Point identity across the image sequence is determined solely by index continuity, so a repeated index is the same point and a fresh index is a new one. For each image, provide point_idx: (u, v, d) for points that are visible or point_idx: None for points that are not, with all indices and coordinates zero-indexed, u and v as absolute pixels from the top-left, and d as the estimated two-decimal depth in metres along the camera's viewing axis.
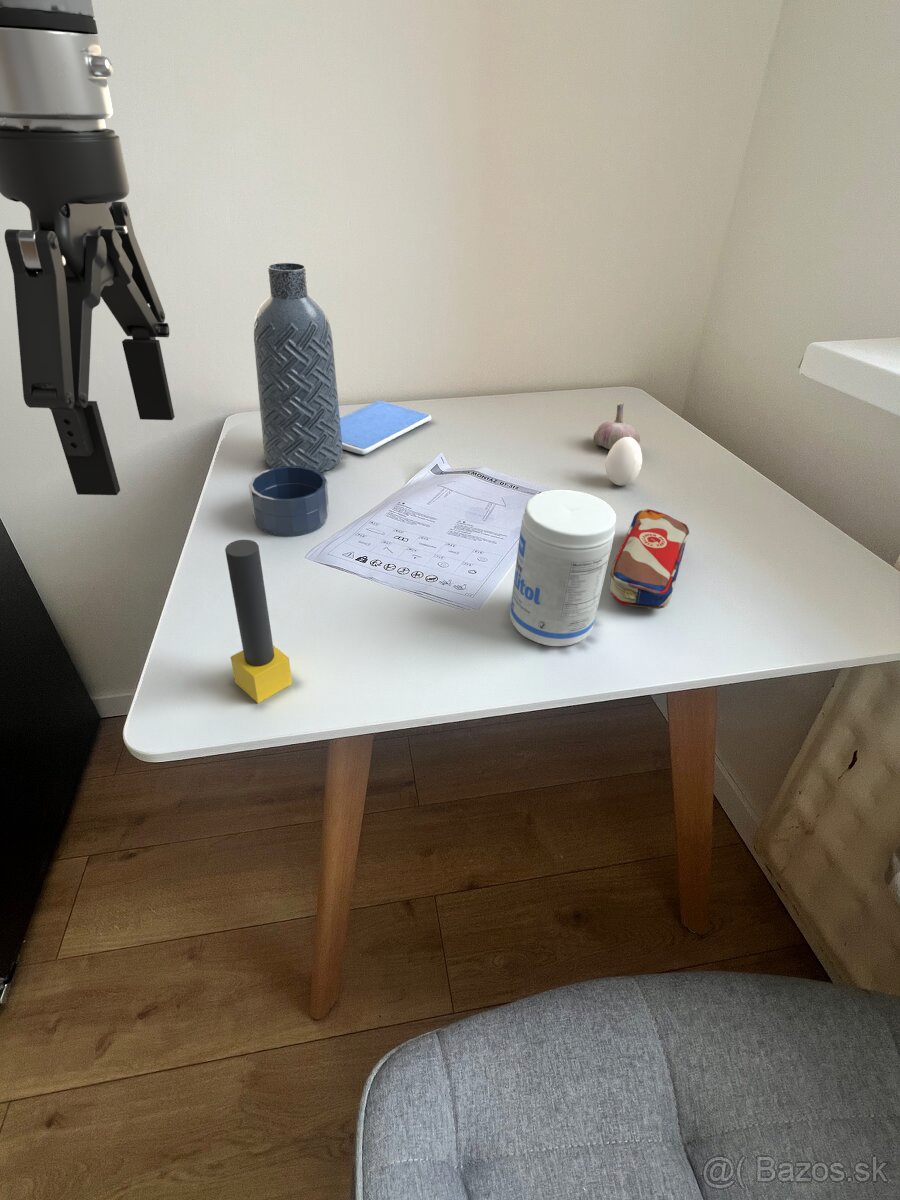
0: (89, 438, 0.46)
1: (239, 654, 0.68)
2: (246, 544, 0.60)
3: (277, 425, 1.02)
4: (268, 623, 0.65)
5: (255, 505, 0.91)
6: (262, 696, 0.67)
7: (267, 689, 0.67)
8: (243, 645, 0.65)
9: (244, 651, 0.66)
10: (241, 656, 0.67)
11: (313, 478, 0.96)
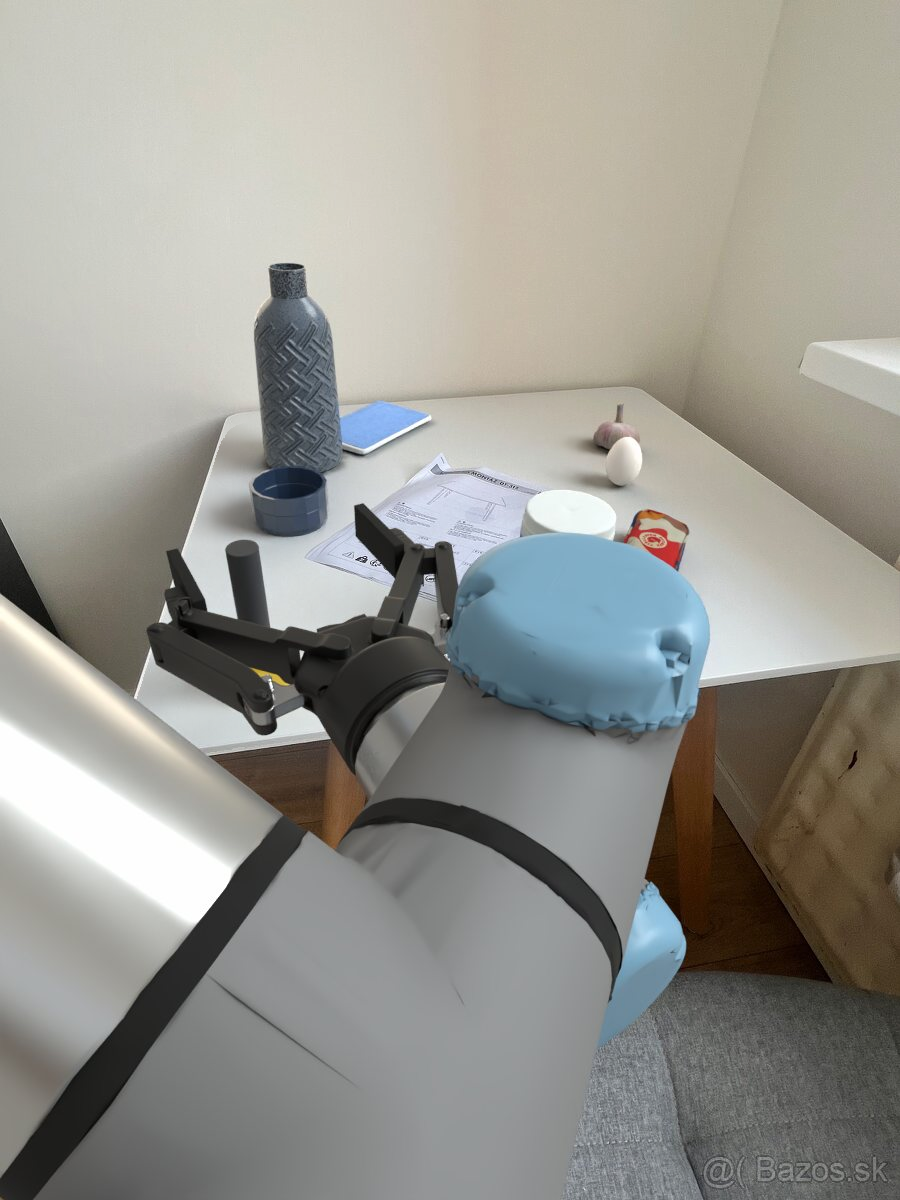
0: None
1: None
2: (246, 544, 0.60)
3: (277, 425, 1.02)
4: (268, 623, 0.65)
5: (255, 505, 0.91)
6: None
7: None
8: None
9: None
10: None
11: (313, 478, 0.96)
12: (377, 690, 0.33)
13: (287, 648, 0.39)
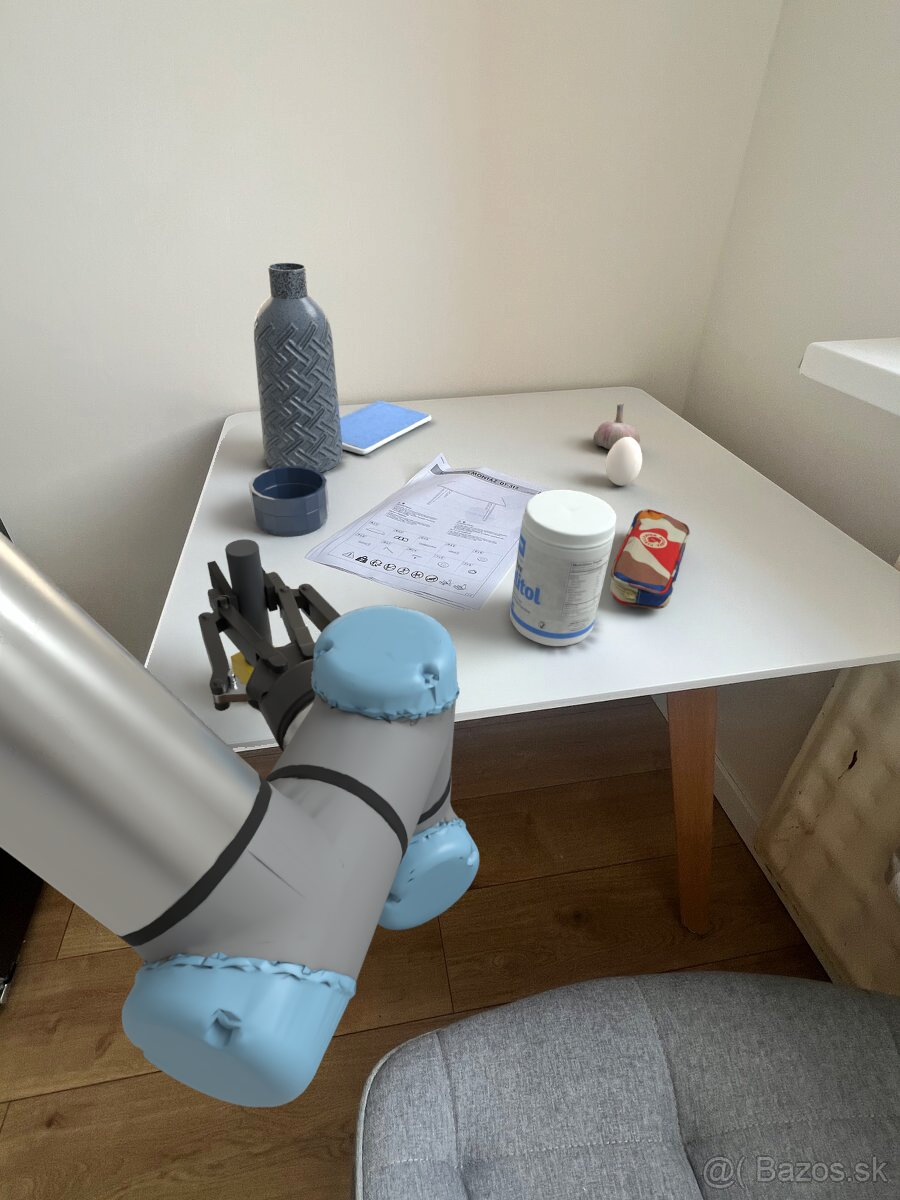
0: None
1: (239, 654, 0.68)
2: (246, 544, 0.60)
3: (277, 425, 1.02)
4: (268, 623, 0.65)
5: (255, 505, 0.91)
6: None
7: None
8: None
9: None
10: (241, 656, 0.67)
11: (313, 478, 0.96)
12: (298, 695, 0.49)
13: (255, 652, 0.56)
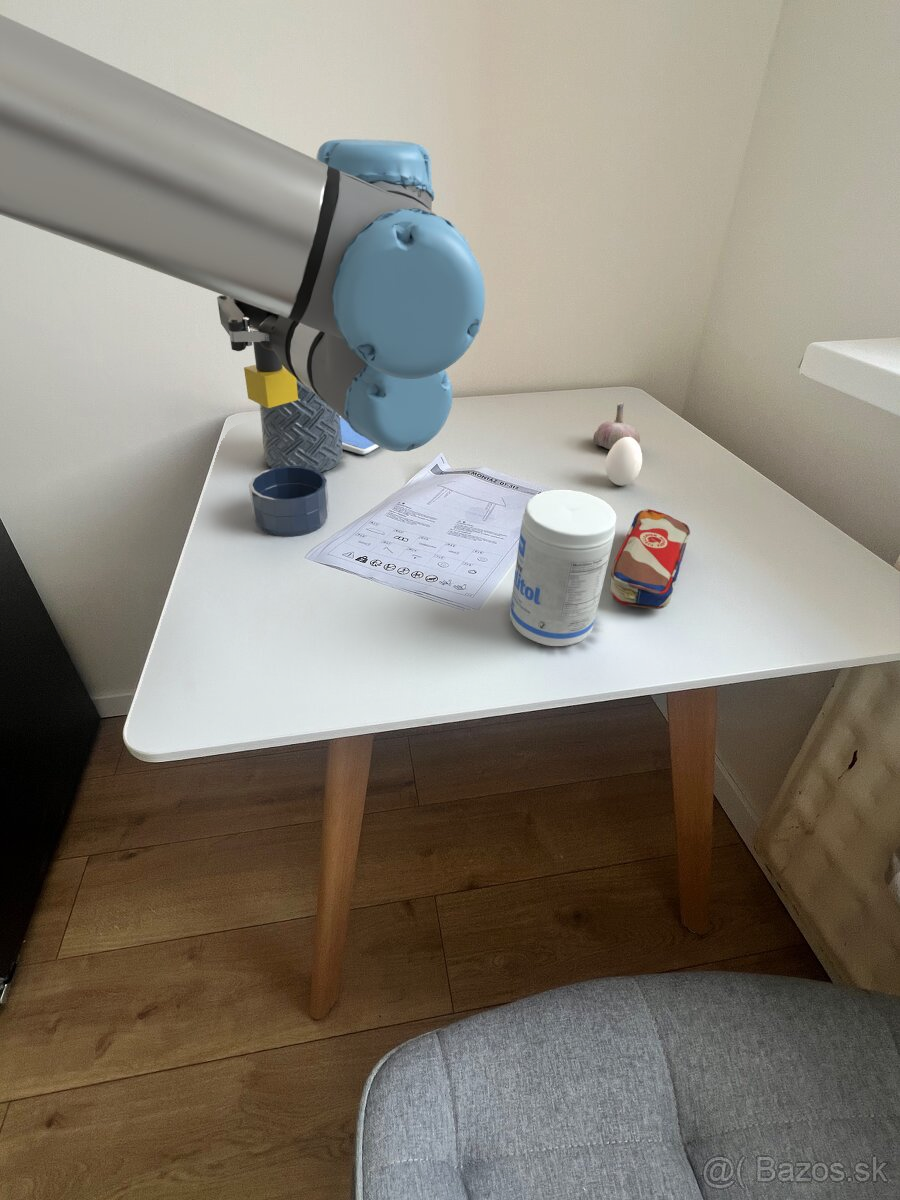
0: None
1: (251, 366, 0.77)
2: None
3: (277, 425, 1.02)
4: None
5: (255, 505, 0.91)
6: (272, 402, 0.76)
7: (276, 396, 0.76)
8: (255, 349, 0.74)
9: (256, 357, 0.75)
10: (253, 367, 0.76)
11: (313, 478, 0.96)
12: None
13: (266, 311, 0.65)
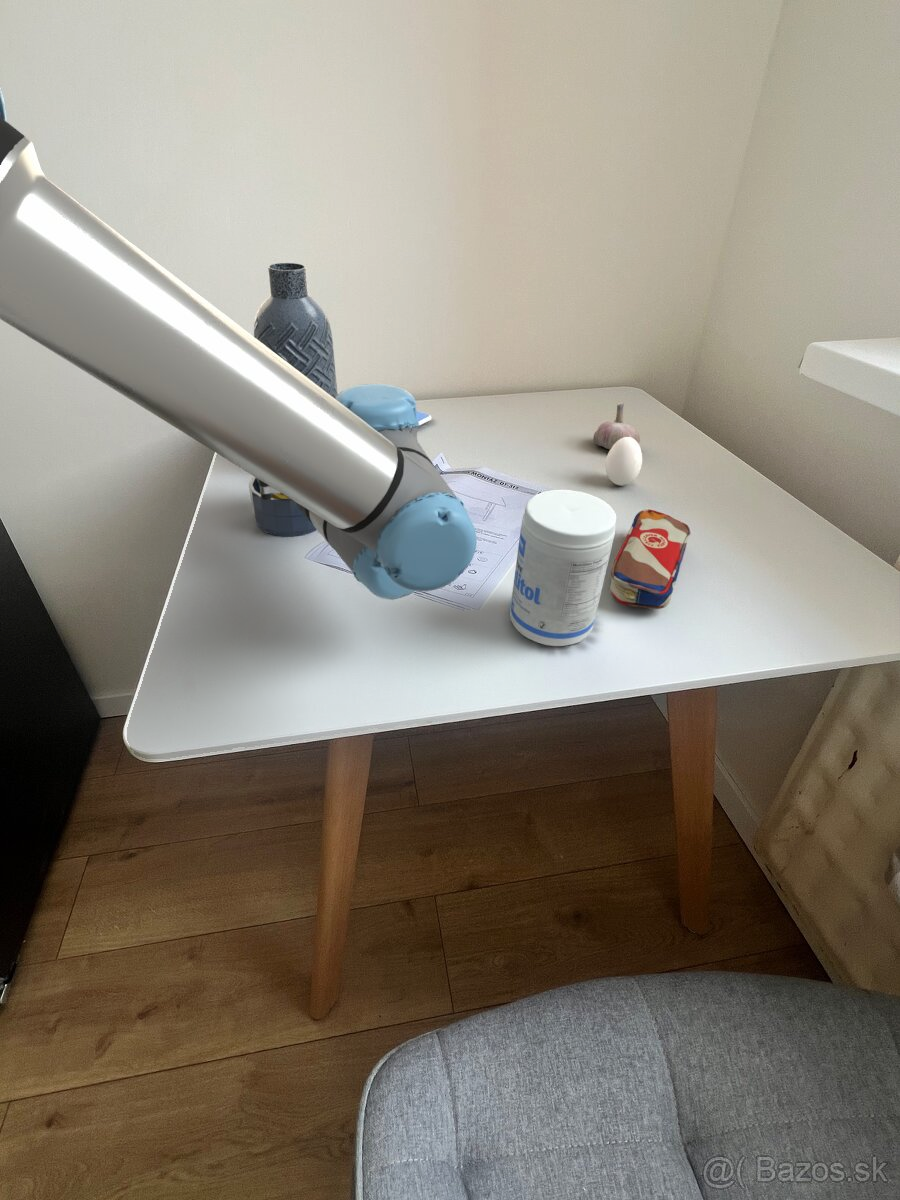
0: None
1: None
2: None
3: None
4: None
5: (255, 505, 0.91)
6: None
7: None
8: None
9: None
10: None
11: None
12: None
13: None
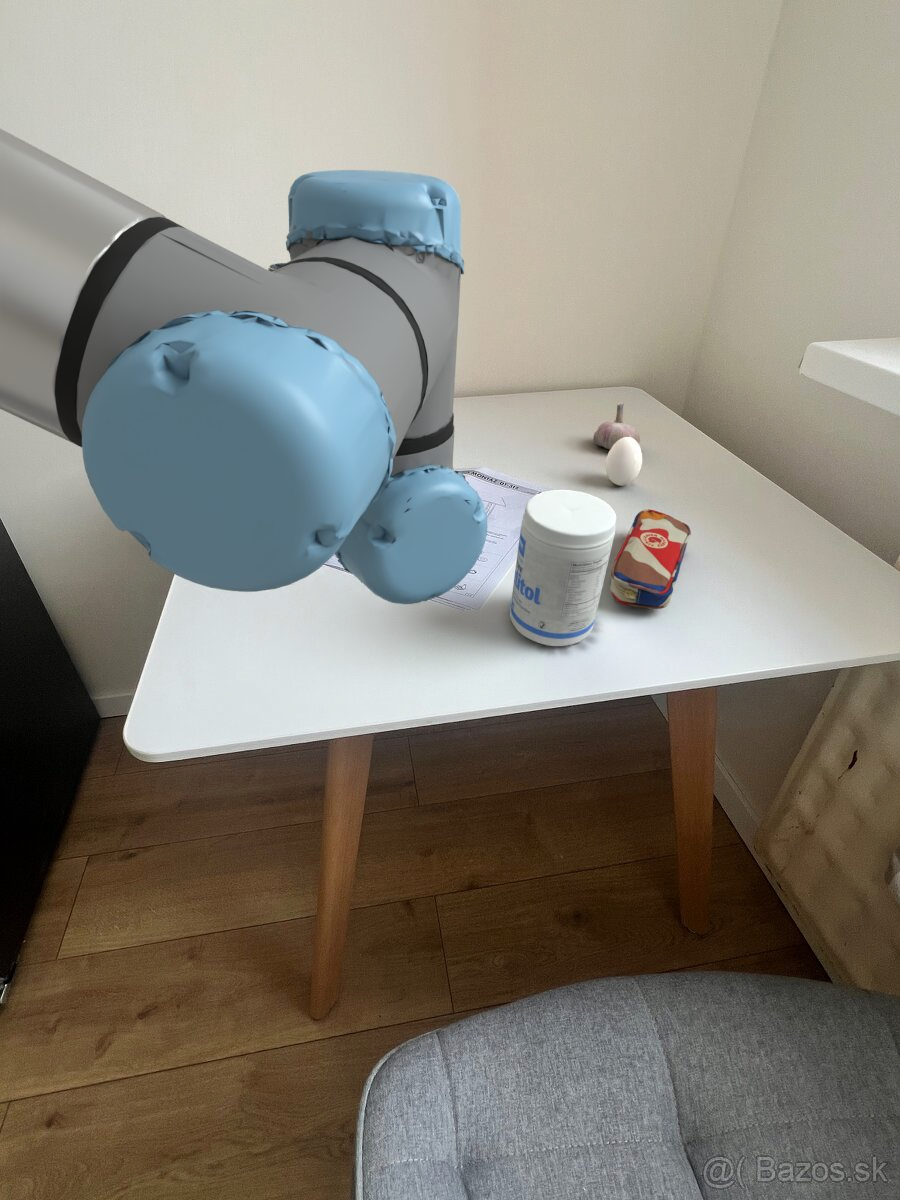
0: None
1: None
2: None
3: None
4: None
5: None
6: None
7: None
8: None
9: None
10: None
11: None
12: None
13: None
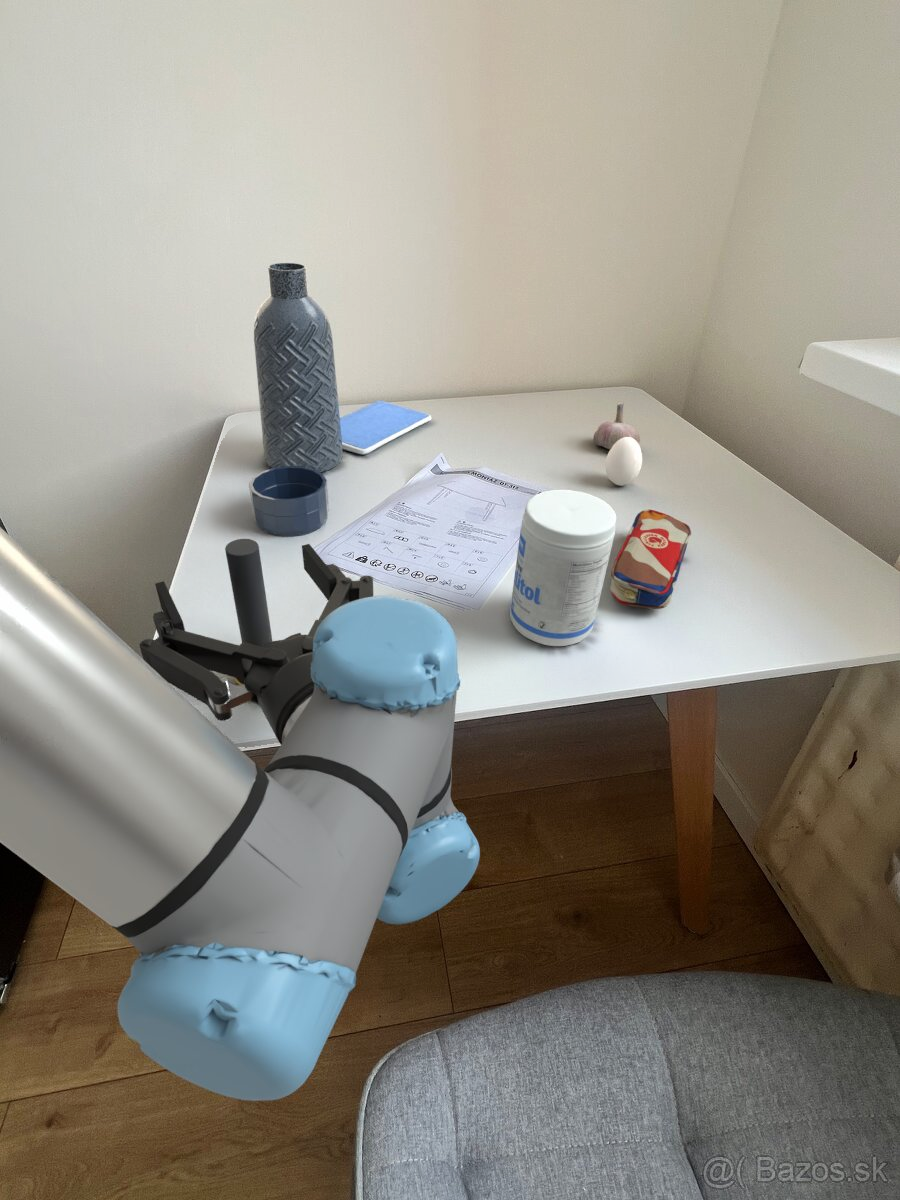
0: None
1: None
2: (246, 544, 0.61)
3: (277, 425, 1.02)
4: (268, 622, 0.65)
5: (255, 505, 0.91)
6: None
7: None
8: None
9: None
10: None
11: (313, 478, 0.96)
12: (297, 688, 0.49)
13: (240, 658, 0.54)
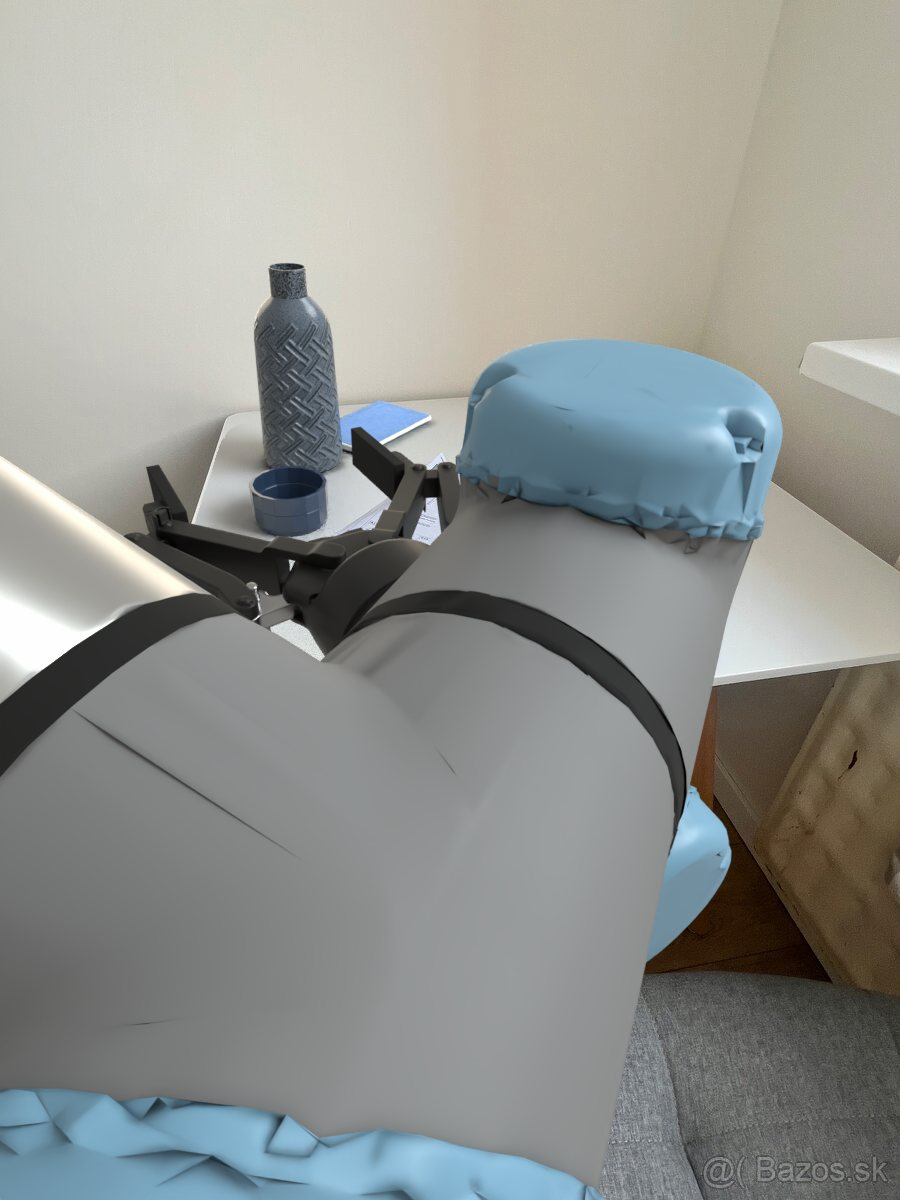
0: None
1: None
2: None
3: (277, 425, 1.02)
4: None
5: (255, 505, 0.91)
6: None
7: None
8: None
9: None
10: None
11: (313, 478, 0.96)
12: (374, 589, 0.30)
13: (275, 558, 0.35)
